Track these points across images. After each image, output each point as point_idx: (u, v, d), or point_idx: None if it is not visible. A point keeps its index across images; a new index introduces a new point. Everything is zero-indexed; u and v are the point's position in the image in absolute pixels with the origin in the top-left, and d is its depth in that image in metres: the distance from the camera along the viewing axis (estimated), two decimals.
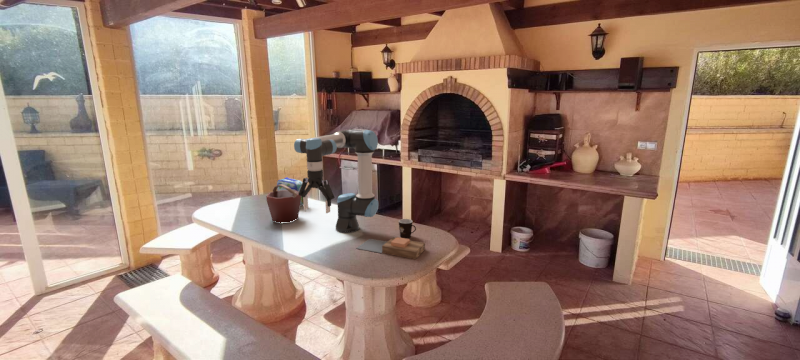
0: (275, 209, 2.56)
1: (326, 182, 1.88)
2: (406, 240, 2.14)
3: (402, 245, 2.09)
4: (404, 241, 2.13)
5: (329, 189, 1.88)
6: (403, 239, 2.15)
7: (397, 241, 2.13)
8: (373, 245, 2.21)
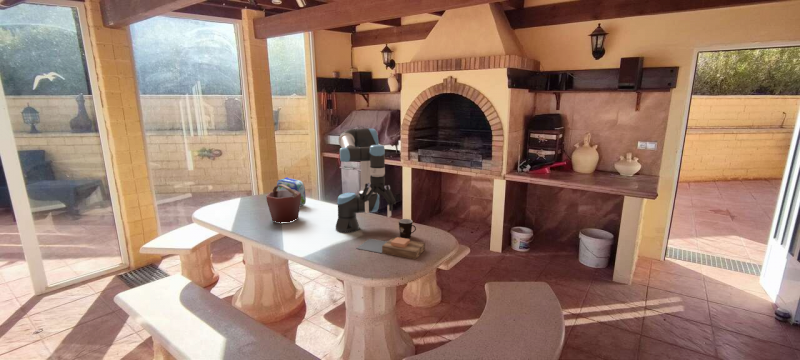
0: (275, 209, 2.56)
1: (388, 187, 1.95)
2: (406, 240, 2.14)
3: (402, 245, 2.09)
4: (404, 241, 2.13)
5: (391, 194, 1.95)
6: (403, 239, 2.15)
7: (397, 241, 2.13)
8: (373, 245, 2.21)
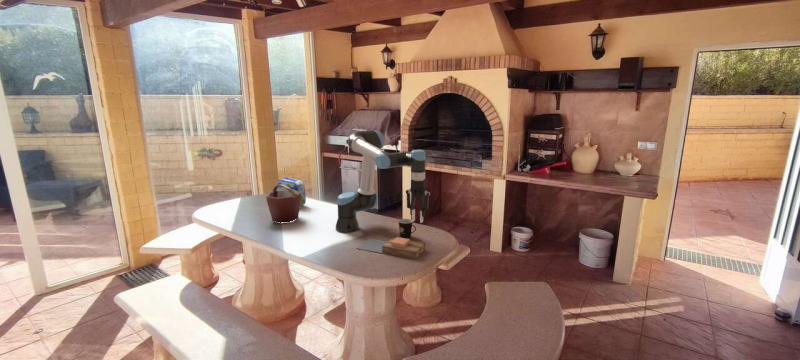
0: (275, 209, 2.56)
1: (428, 194, 2.01)
2: (406, 240, 2.14)
3: (402, 245, 2.09)
4: (404, 241, 2.13)
5: (428, 201, 2.02)
6: (403, 239, 2.15)
7: (397, 241, 2.13)
8: (373, 245, 2.21)
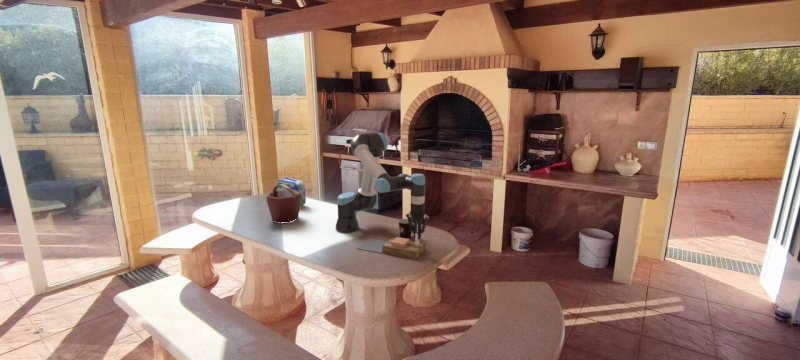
0: (275, 209, 2.56)
1: (427, 219, 2.04)
2: (406, 240, 2.14)
3: (402, 245, 2.09)
4: (404, 241, 2.13)
5: (425, 224, 2.05)
6: (403, 239, 2.15)
7: (397, 241, 2.13)
8: (373, 245, 2.21)
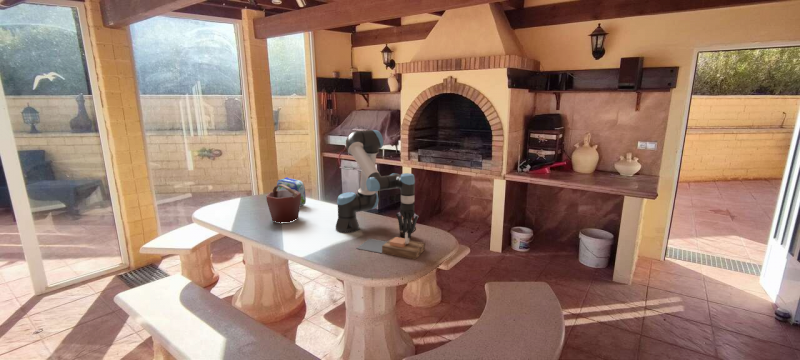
0: (275, 209, 2.56)
1: (417, 218, 2.06)
2: None
3: (401, 245, 2.10)
4: (403, 241, 2.13)
5: (415, 223, 2.08)
6: (402, 239, 2.16)
7: (396, 241, 2.13)
8: (373, 245, 2.21)
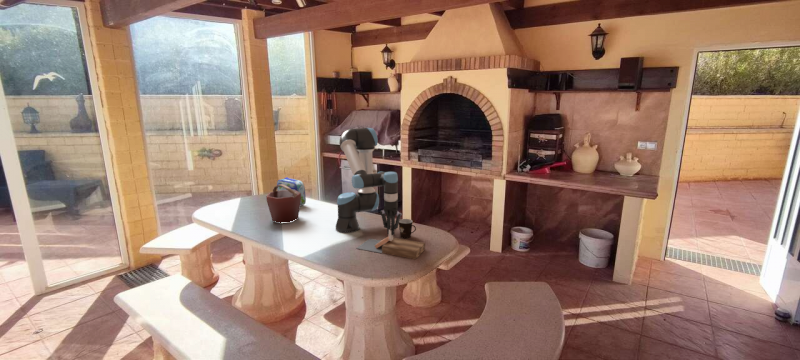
0: (275, 209, 2.56)
1: (400, 215, 2.11)
2: (387, 237, 2.19)
3: (384, 241, 2.14)
4: (385, 238, 2.17)
5: (398, 221, 2.12)
6: (385, 238, 2.20)
7: (379, 242, 2.17)
8: (373, 245, 2.21)
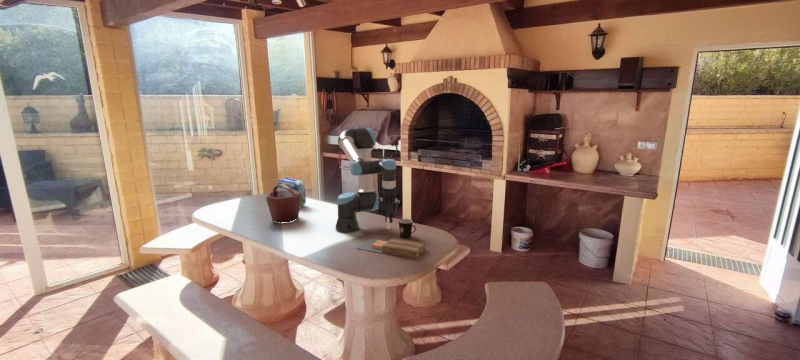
0: (275, 209, 2.56)
1: (398, 203, 2.09)
2: None
3: None
4: None
5: (396, 208, 2.11)
6: (383, 242, 2.21)
7: (377, 244, 2.18)
8: None
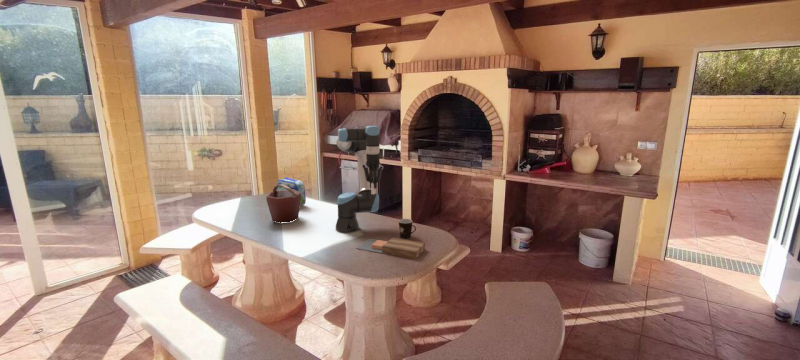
0: (275, 209, 2.56)
1: (382, 168, 2.16)
2: None
3: None
4: None
5: (380, 174, 2.18)
6: (383, 242, 2.21)
7: (377, 244, 2.18)
8: None
